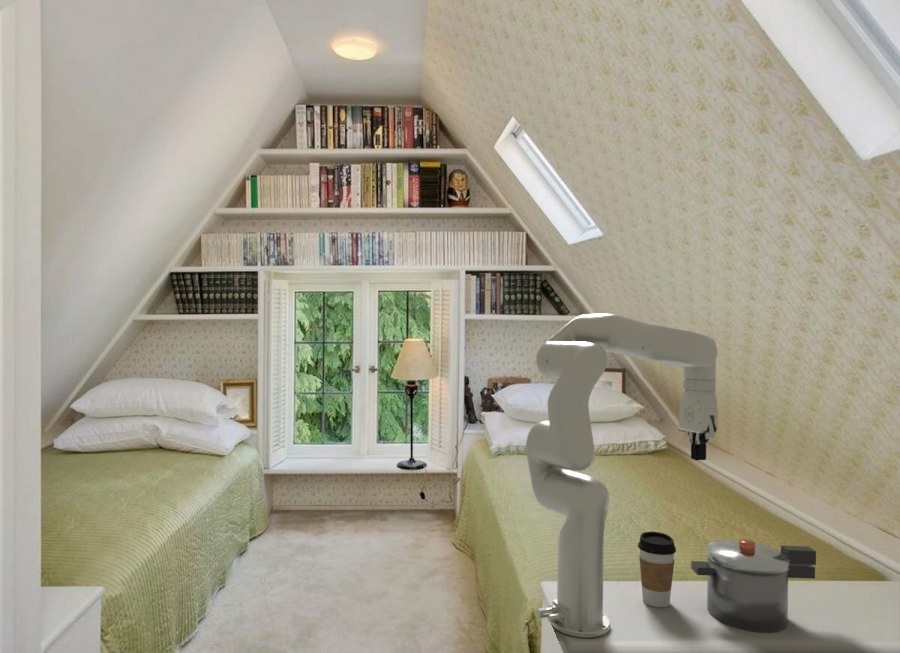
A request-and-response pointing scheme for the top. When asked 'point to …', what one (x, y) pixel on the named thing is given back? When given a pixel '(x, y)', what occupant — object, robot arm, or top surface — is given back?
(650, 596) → the coffee cup
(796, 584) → the top surface
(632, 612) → the top surface
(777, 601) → the cooker pot
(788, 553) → the cooker lid
